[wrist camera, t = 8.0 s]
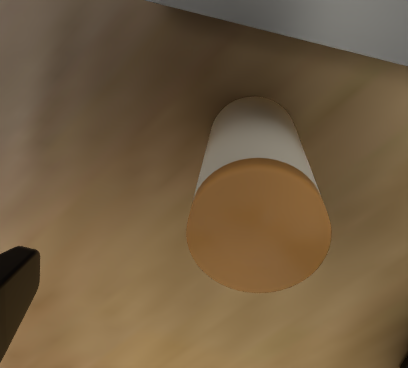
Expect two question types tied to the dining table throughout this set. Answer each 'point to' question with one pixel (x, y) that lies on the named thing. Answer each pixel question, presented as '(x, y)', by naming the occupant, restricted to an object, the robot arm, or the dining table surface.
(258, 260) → the plug
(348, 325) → the dining table surface
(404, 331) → the dining table surface
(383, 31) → the header
